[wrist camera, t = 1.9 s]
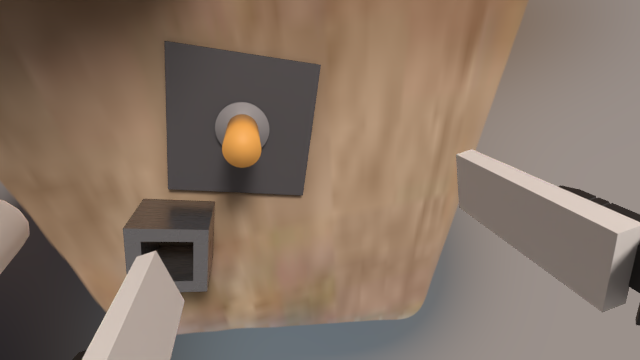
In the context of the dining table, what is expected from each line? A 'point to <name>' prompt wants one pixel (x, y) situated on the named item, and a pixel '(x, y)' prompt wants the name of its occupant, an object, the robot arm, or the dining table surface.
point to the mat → (222, 90)
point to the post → (242, 133)
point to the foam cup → (11, 232)
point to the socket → (174, 239)
